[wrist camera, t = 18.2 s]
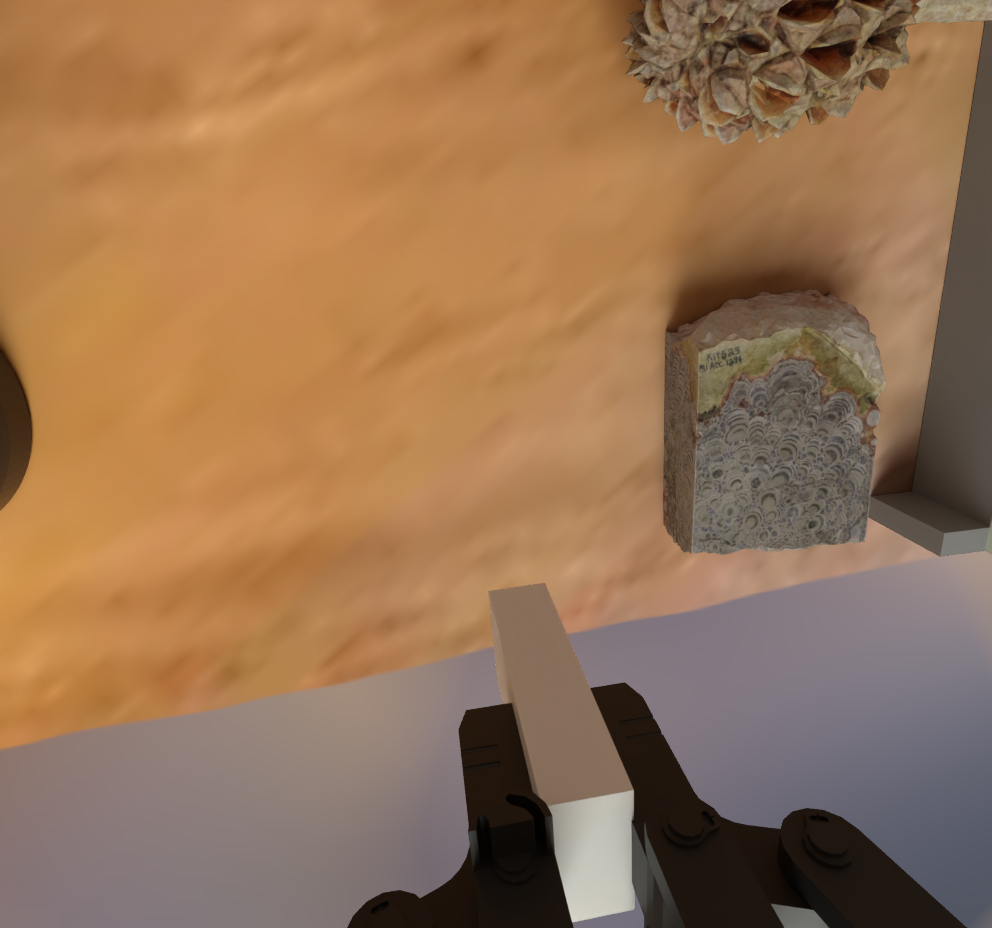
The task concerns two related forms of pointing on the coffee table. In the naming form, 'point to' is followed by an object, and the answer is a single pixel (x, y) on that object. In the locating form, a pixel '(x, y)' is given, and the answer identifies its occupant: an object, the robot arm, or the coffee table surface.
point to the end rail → (958, 369)
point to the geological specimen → (770, 425)
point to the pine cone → (774, 56)
